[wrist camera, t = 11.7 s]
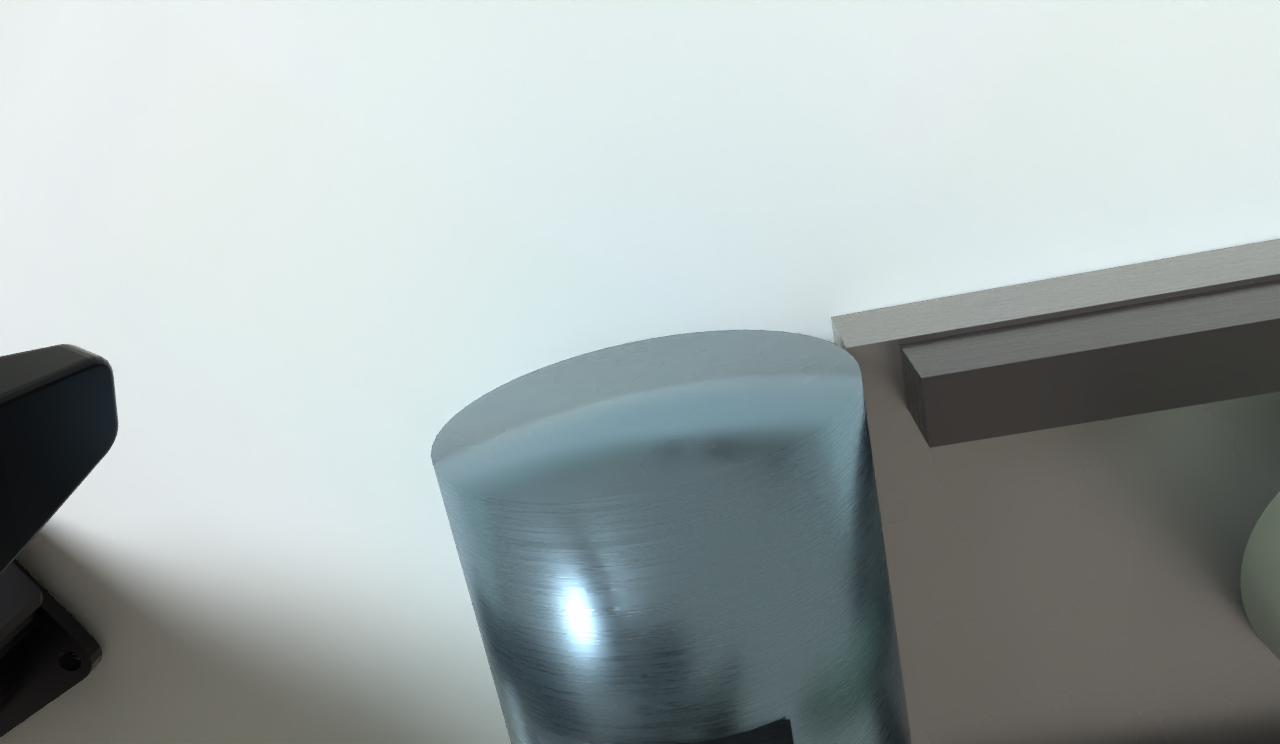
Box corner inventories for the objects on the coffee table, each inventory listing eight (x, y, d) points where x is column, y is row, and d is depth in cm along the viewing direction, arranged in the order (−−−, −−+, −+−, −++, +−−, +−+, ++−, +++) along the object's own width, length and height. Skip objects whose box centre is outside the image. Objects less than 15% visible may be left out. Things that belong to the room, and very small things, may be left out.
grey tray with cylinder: (601, 847, 24) (559, 1241, 16) (477, 369, 20) (347, 581, 13) (1768, 702, 22) (2381, 1086, 14) (1864, 125, 18) (2772, 202, 10)
